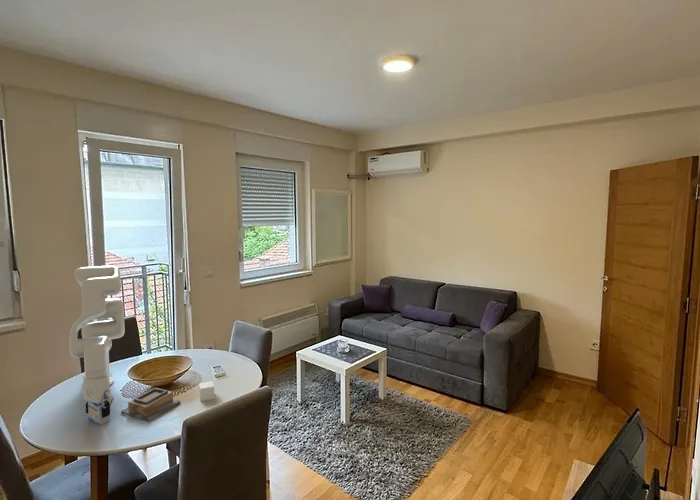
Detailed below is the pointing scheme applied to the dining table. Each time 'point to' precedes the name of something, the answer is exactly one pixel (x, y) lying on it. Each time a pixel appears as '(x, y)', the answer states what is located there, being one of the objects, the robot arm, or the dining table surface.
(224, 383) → the dining table surface
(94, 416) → the medicine box
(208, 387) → the white cube
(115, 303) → the robot arm
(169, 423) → the dining table surface
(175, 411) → the dining table surface
